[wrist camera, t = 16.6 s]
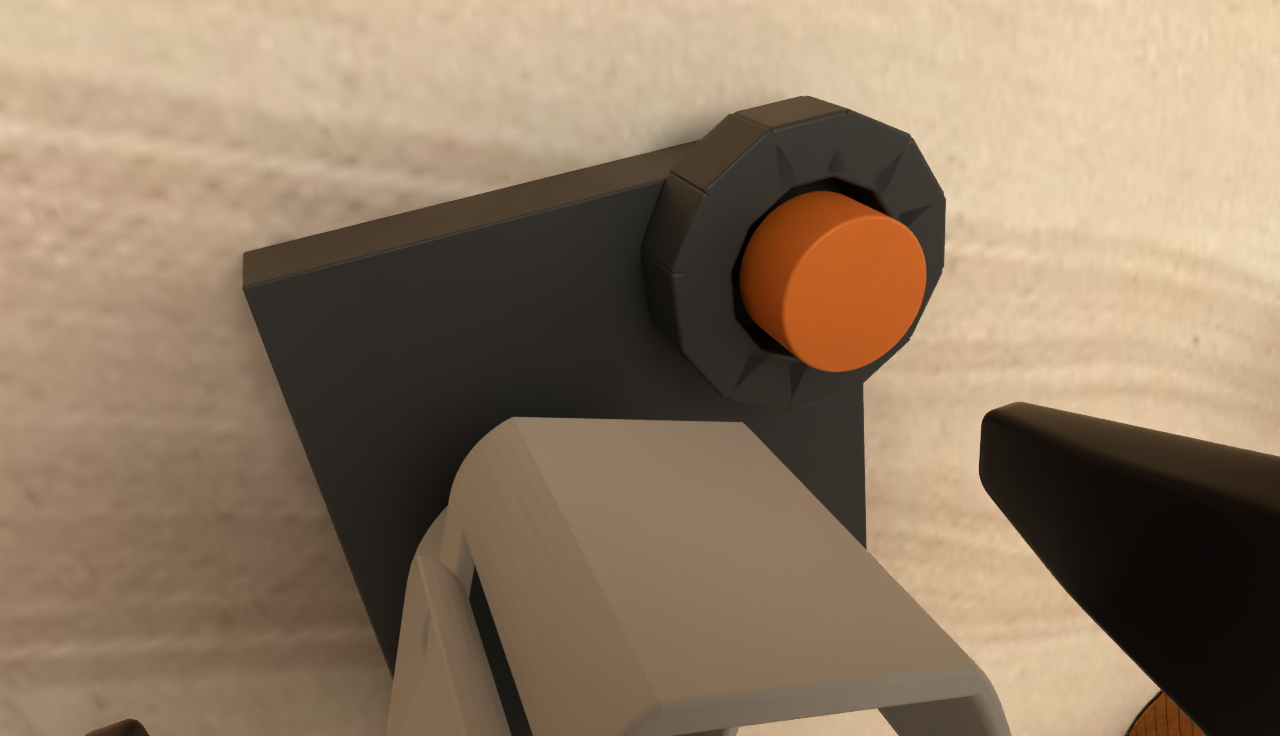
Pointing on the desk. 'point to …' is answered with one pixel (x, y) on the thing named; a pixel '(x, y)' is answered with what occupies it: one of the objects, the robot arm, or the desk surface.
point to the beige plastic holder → (662, 596)
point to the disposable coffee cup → (1164, 720)
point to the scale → (569, 328)
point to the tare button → (833, 280)
